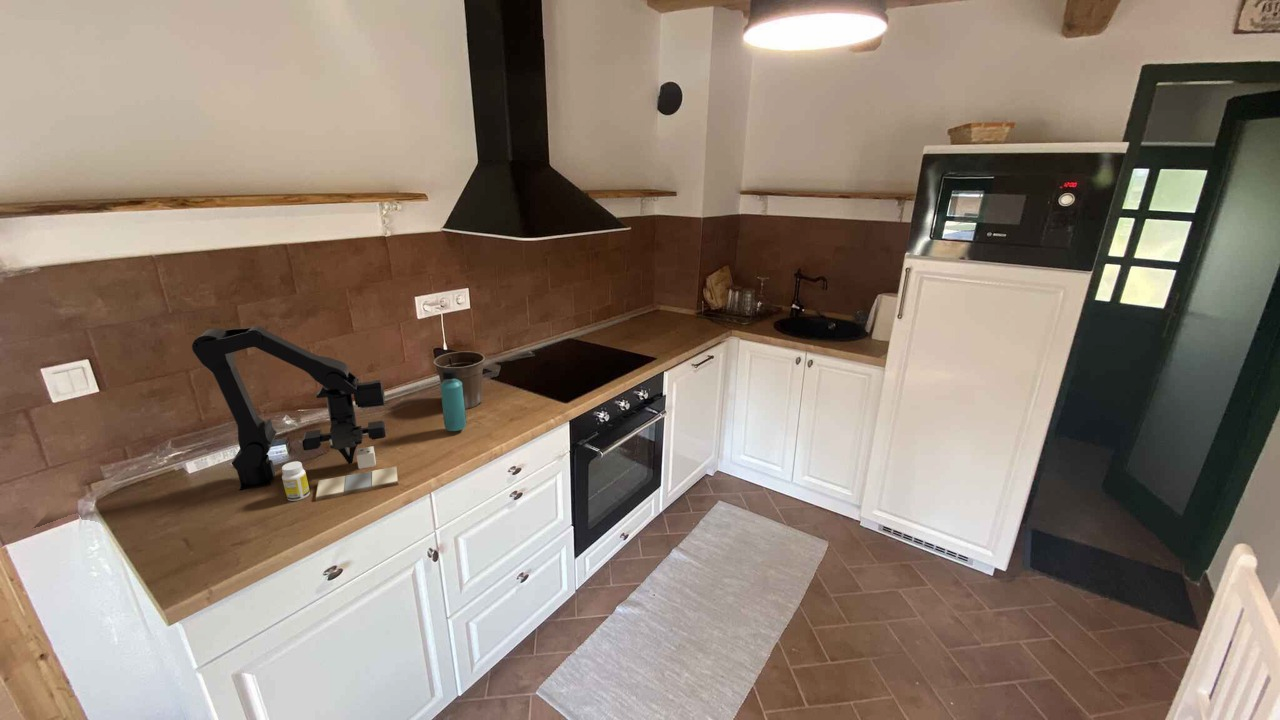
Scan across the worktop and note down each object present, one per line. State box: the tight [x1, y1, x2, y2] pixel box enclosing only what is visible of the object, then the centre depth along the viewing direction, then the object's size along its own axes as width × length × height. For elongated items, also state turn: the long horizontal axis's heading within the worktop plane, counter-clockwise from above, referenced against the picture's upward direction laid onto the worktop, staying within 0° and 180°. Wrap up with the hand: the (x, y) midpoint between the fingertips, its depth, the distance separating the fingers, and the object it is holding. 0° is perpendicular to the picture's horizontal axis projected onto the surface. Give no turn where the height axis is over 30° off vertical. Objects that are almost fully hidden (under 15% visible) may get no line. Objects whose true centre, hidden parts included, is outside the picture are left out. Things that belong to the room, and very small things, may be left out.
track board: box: [315, 466, 399, 502], centre depth 132 cm, size 18×8×1 cm, turn 116°
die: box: [356, 445, 376, 470], centre depth 140 cm, size 4×4×4 cm
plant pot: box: [433, 350, 486, 410], centre depth 177 cm, size 16×16×16 cm
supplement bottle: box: [281, 460, 311, 502], centre depth 125 cm, size 5×5×8 cm
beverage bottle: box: [439, 369, 467, 432], centre depth 157 cm, size 6×7×20 cm
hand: (350, 463), depth 139 cm, fingers closed
